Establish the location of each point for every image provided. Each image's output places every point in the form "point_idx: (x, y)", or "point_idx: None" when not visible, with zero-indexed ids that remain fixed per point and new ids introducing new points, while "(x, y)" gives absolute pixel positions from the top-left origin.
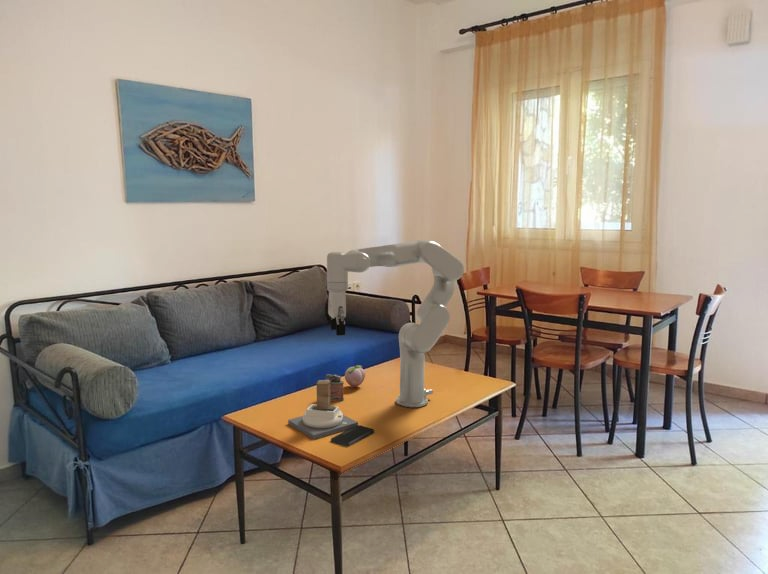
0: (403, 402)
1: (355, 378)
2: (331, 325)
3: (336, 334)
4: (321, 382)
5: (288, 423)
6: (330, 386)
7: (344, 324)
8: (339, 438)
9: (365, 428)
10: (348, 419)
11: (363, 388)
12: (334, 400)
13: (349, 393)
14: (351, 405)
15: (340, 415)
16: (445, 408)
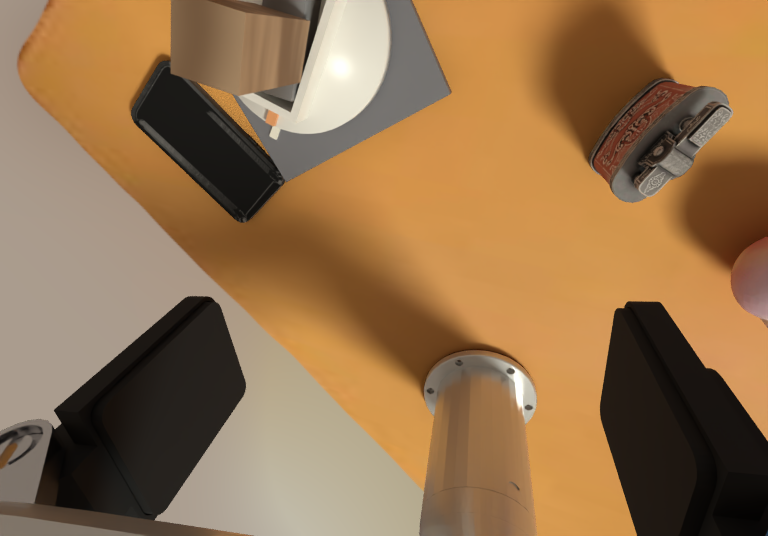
0: (456, 368)
1: (740, 278)
2: (652, 352)
3: (189, 297)
4: (195, 29)
5: None
6: (650, 119)
7: (128, 512)
8: (175, 94)
9: (258, 198)
10: (313, 152)
11: (726, 288)
12: (607, 127)
13: (684, 214)
14: (513, 194)
15: (273, 120)
16: (403, 444)
